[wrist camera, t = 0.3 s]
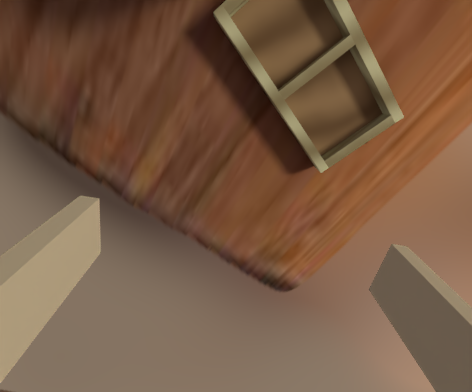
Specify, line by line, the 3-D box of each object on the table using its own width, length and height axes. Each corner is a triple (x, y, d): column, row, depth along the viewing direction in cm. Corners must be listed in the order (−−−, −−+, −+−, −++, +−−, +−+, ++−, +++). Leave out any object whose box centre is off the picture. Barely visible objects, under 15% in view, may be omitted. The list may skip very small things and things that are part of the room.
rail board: (214, 19, 31) (213, 12, 28) (300, -62, 28) (308, -78, 25) (314, 166, 38) (321, 173, 35) (389, 114, 36) (403, 117, 33)
